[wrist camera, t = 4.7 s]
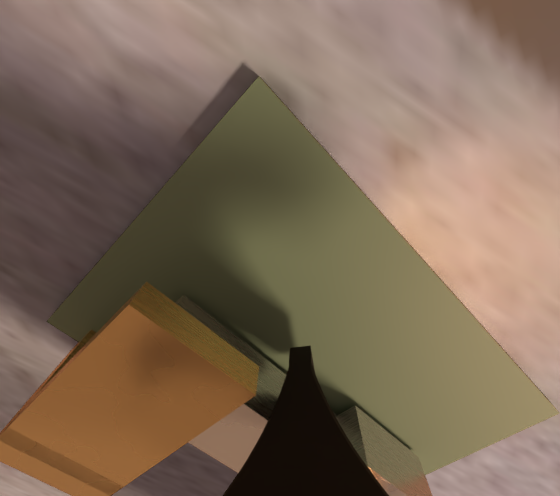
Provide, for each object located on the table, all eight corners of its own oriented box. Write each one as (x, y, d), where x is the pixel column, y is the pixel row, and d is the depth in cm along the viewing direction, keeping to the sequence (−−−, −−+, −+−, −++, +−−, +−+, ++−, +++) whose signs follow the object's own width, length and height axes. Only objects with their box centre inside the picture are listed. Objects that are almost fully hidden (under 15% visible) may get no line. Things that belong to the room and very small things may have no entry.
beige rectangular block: (418, 457, 16) (441, 520, 13) (339, 495, 17) (347, 557, 15) (200, 278, 12) (178, 324, 9) (123, 349, 13) (87, 404, 11)
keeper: (145, 399, 15) (94, 506, 11) (69, 351, 14) (-18, 452, 10) (266, 300, 12) (255, 395, 8) (185, 231, 11) (128, 304, 7)
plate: (342, 500, 19) (344, 511, 19) (56, 312, 14) (46, 321, 13) (549, 401, 15) (559, 413, 14) (260, 77, 10) (258, 76, 9)
